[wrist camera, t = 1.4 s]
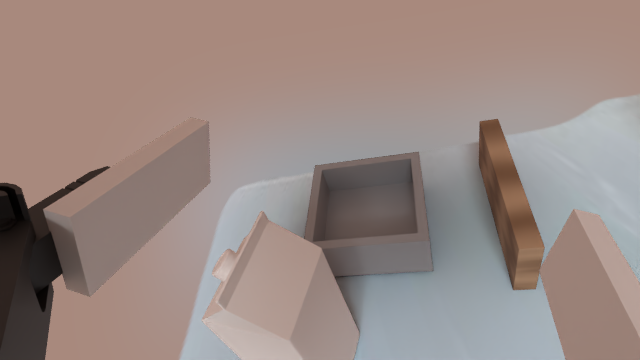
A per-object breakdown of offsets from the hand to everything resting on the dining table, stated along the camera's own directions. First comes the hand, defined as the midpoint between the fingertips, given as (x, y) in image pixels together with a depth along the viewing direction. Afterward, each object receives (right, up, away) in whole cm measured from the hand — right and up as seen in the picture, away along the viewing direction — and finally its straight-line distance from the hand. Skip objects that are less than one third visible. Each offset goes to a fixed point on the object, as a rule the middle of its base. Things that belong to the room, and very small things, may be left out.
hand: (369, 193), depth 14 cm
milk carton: (-2, -18, +24) cm, 30 cm away
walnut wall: (+19, -4, +30) cm, 36 cm away
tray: (+5, -5, +34) cm, 34 cm away
